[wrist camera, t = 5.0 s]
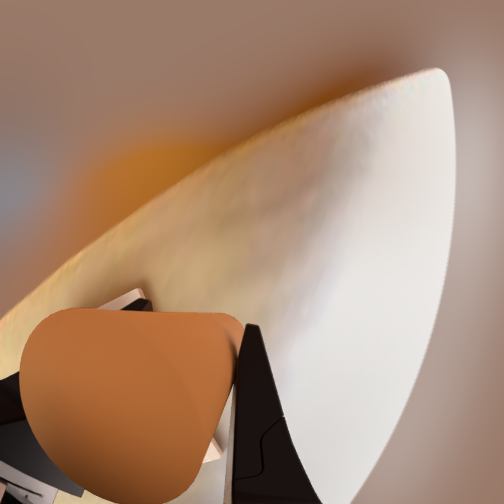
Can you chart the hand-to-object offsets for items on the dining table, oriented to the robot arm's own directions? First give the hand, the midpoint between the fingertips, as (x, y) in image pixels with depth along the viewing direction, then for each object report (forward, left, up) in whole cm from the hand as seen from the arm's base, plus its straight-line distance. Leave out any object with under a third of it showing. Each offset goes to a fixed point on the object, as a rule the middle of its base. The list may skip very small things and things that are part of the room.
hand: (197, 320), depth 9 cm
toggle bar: (-1, +1, -7) cm, 7 cm away
